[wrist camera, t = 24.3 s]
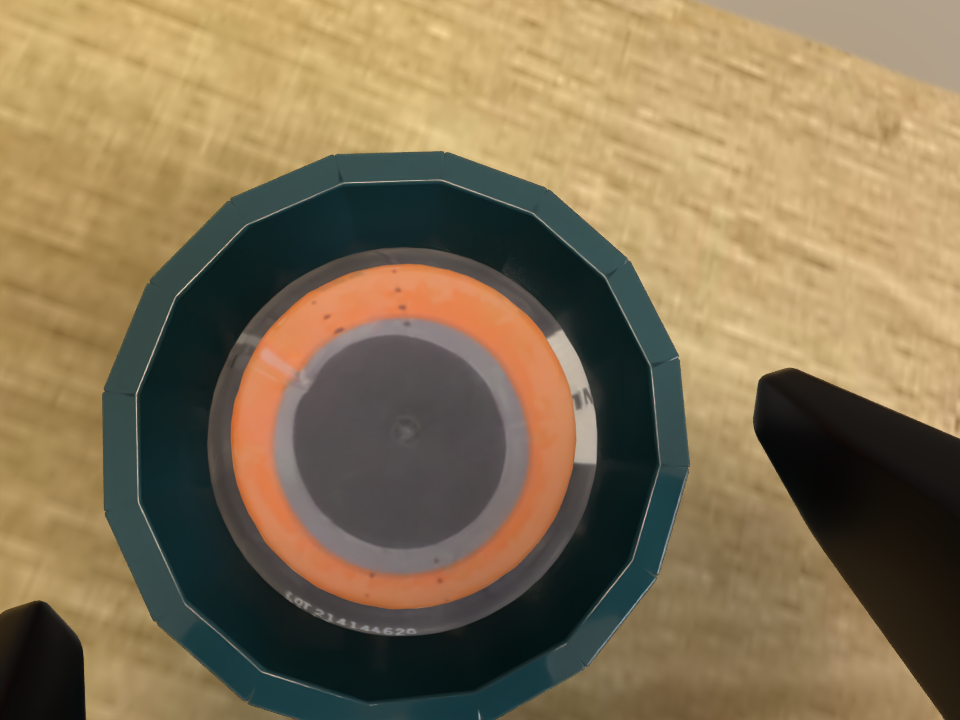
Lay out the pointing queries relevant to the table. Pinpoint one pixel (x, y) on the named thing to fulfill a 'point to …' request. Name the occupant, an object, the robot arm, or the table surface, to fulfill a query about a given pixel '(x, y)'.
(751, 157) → the table surface
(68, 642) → the robot arm
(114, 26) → the table surface
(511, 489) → the pill bottle
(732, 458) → the table surface
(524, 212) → the pot
